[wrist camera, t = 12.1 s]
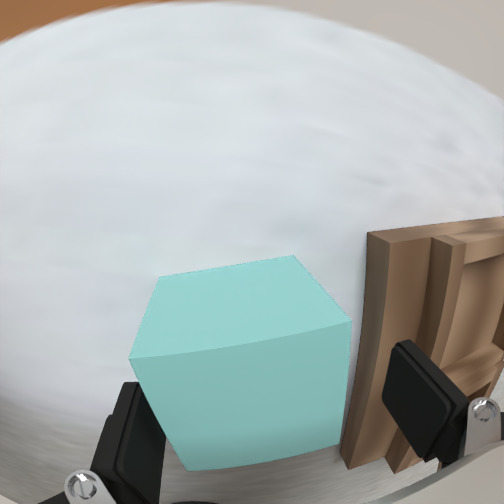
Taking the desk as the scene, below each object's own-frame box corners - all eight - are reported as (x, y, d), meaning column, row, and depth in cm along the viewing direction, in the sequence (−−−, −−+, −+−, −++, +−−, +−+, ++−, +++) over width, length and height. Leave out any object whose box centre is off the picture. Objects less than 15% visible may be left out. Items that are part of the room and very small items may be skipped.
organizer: (339, 453, 19) (356, 489, 15) (367, 232, 13) (418, 257, 9) (468, 395, 20) (490, 417, 16) (517, 214, 15) (555, 227, 11)
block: (189, 378, 14) (187, 471, 9) (159, 276, 12) (128, 358, 7) (299, 359, 15) (339, 443, 9) (292, 254, 13) (351, 320, 7)
